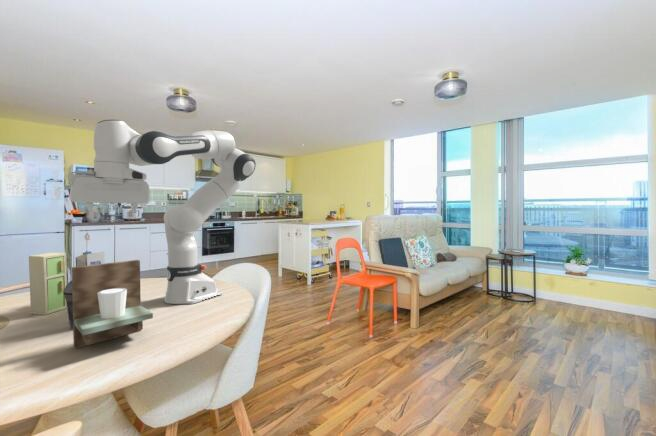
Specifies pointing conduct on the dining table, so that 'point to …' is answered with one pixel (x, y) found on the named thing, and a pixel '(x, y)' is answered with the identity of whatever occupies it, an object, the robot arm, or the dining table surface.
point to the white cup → (112, 302)
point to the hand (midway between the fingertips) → (113, 217)
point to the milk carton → (90, 259)
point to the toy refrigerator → (47, 282)
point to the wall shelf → (87, 305)
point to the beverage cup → (69, 302)
